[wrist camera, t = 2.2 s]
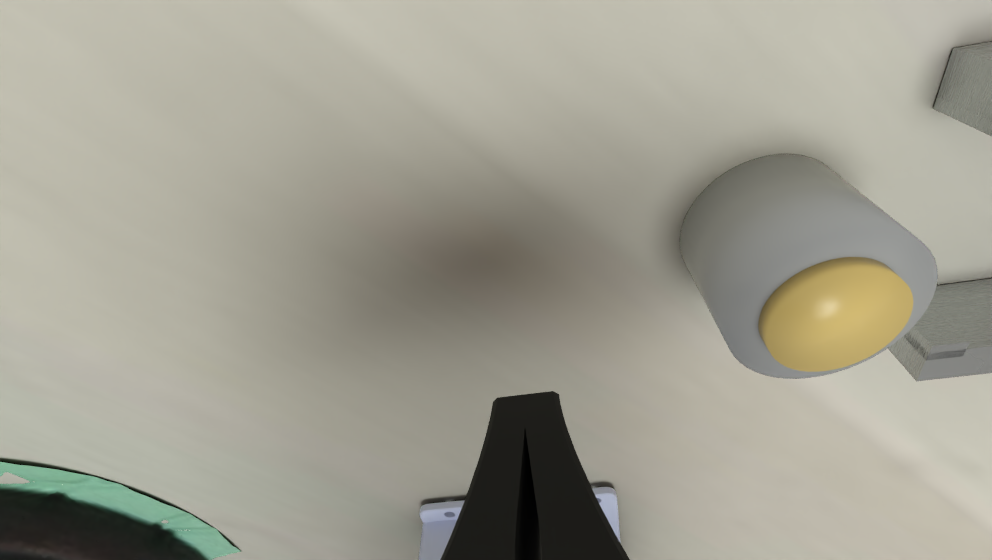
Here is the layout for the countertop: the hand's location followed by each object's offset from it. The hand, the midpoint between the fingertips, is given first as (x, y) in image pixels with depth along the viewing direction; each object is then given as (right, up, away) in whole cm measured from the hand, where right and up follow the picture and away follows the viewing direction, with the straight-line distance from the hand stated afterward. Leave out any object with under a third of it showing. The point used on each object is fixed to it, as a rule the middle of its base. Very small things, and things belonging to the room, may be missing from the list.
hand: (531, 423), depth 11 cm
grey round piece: (+7, +5, +4) cm, 10 cm away
